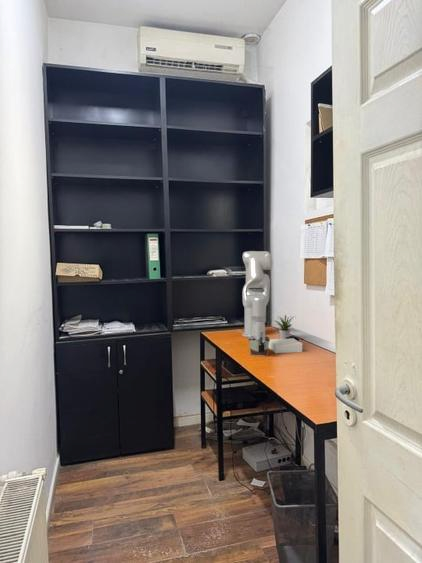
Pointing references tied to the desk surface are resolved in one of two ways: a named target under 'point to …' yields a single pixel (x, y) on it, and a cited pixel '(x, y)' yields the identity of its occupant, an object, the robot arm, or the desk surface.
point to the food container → (255, 346)
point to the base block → (285, 345)
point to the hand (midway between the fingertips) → (258, 349)
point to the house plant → (284, 327)
